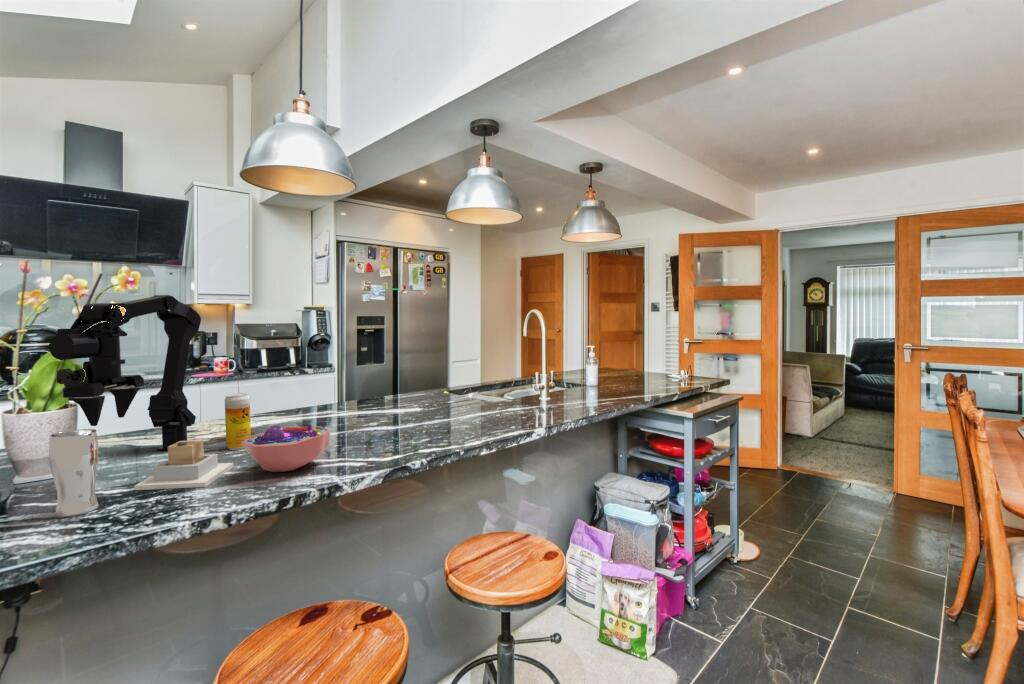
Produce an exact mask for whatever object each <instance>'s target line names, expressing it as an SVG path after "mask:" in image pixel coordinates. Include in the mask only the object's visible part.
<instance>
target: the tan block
mask: <svg viewBox="0 0 1024 684" xmlns="http://www.w3.org/2000/svg"><path fill="white" fill-rule="evenodd" d="M204 455H205V450H204V439H201V440H200V439H195V440H187V441H179V442H177V443H175V444H172V445H170V446H168V450H167V460H168V465H191V464H196V463H198V462H200V461H201V460H203V459H204Z"/></svg>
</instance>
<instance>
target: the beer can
mask: <svg viewBox="0 0 1024 684" xmlns="http://www.w3.org/2000/svg"><path fill="white" fill-rule="evenodd" d="M250 401H251V398H250V397H249V393H246V392H245V393H232V394H227V395H226V396H225V398H224V416H225V418H224V419H225V421H224V422H225V446H226V447H227V449H228V450H229V451H240V450H244V449H245V447H244V446H243V444H242V441H243V440H245V439H246V438H248V437H251V436H252V432H251V431H252V430H251V428H252V427H251V402H250ZM245 450H246V449H245Z"/></svg>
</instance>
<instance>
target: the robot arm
mask: <svg viewBox="0 0 1024 684" xmlns="http://www.w3.org/2000/svg"><path fill="white" fill-rule="evenodd" d="M93 304H94V303H93V302H92V304H91V302H90V303H86V304H84V305H83V306H82V309H81V311H80V313H79V314H78V315H77V318H76V319H75V321H74V322H73V323H72V325H71V326H70V327H69V328H57V331H56V333H57V334H55V335H54V336H53V337H52V338H51V340H50V341H49V344H48V350H49V353H50V354H51V356H52V357H53V358H55V359H57V360H60V361H67V360H75V359H76V360H78V359H87V358H88V360H86V361H84V362H83V363H82V368H80V369H75V370H72V369H71V368H63V369H59V370H57V371H56V383H57V384H60V385H63V384H64V385H63V388H62V391H61V392H62V398H63V399H65V398H67V400H68V401H69V402H70V401H71V402H74V403H75V404H78V405H79V406H80V408H81V410H82V412H83V413H84V415H85V417H86V419H87V421H88V422H89V425H90V427H96V426H98V424H99V421H100V418H101V414H102V412H103V411H102V410H103V406H104V403H105V398H106V395H104V393H105V391H106V390H107V391H108V392H109V393H111V395H112V396H114V403H115V409H116V414H117V418H120V419H121V418H124V417H125V416H126V414H127V412H128V410H129V408H130V406H131V404H132V402H133V401H134V399H135V397H136V395H137V394H138V392H139V391H140V390H141V387H142V386H143V387H144V386H145V381H144V380H145V378H144V377H143V376H142V375H140V374H122V365H124V364H125V365H126V359H125V358H124V359H122V358H121V345H120V344H121V342H120V341H121V340H120V337H127V336H128V333H127V332H126V331H124V330H122V328H121V327H120V326H123V325H125V324H127V323H129V321H131V319H134V318H137V317H141V316H145V315H149V314H154V313H156V315H157V318H158V319H159V320H160V321H162V322H163V329H164V332H165V333H166V336H167V338H168V343H167V350H166V357H165V361H164V362H165V363H164V369H163V374H162V381H161V387H160V390H159V391H158V392H157V393H156V394H152V395H150V397H149V405H148V407H147V411H148V416H149V418H150V420H151V423H152V425H153V427H154V428H161V433H162V434H161V442H162V445H161V446H159V447H156V451H168V446H170V445H172V444H175V443H177V442H179V441H188V427H192V425H195V423H196V415H195V414H194V413H193V412H192V411H191V410H190V409H189V408H188V399H187V397H186V395H185V393H184V383H185V377H186V370H187V363H188V358H189V356H188V355H189V350H190V344H191V343H190V342H191V341H192V340H193V339H194V337H195V336H196V335H197V334H198V333H199V330H200V326H201V322H202V318H201V317H202V316H201V315H200V314H199V313H198V312H197V311H196V310H194V308H192V307H191V306H189V305H188V304H185V303H183V302H181V301H179V300H178V299H177V298H175V296H172V295H169V294H157V295H152V296H150V297H145V298H139V299H135V300H129V301H123V302H118V303H117V302H115V303H114V302H113V303H112V302H111V303H110V302H109V303H107V302H106V303H105V302H104V303H100V302H97V303H95V304H94V305H93ZM112 305H113V308H112V309H111V307H112ZM116 305H118V306H121V307H124V308H125V309H126V312H125V315H124V316H122V313H121V311H120V309H118V308H120V307H118V306H116ZM92 306H93V308H92V309H91V307H92ZM114 306H115V308H114ZM123 318H124V319H123ZM121 320H122V321H121ZM81 321H82V322H81ZM101 321H107V322H103V323H98V322H101ZM108 322H109V323H108ZM95 323H98V324H96V325H94V326H92V325H93V324H95ZM90 326H92V327H91V328H89V327H90ZM87 328H89V329H88V330H86V329H87ZM84 330H86V331H85V332H83V331H84ZM82 332H83V333H82ZM83 369H84V370H85V372H86V377H85V372H84V370H83ZM84 377H85V380H84ZM83 380H84V382H83ZM64 386H65V387H64Z"/></svg>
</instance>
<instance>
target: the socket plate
mask: <svg viewBox="0 0 1024 684" xmlns="http://www.w3.org/2000/svg"><path fill="white" fill-rule="evenodd" d="M218 461H219V460H218V454H217V453H209V454H204V459H203V460H201V461H200V462H198V463H196V464H191V465H168V459H167V460H166V461H164V462H161V463H159V464H158V465H156V466H153V475H151V476H150V477H147V478H146V479H145V480H142V481H141V482H138V483H137V484H135V485H134V486H133V488H134V489H133V490H134V491H147V490H148V491H149V490H166V489H167V490H168V489H170V490H172V489H173V490H174V489H190V488H206V487H207V486H209V485H210V484H212V483H213V482H215V481H216V480H217V479H219V478H220V477H222V476H223V475H224V474H226V473H227V472H229V471H230V470H231V469H233V468H234V465H235V464H234V462H218Z"/></svg>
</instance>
